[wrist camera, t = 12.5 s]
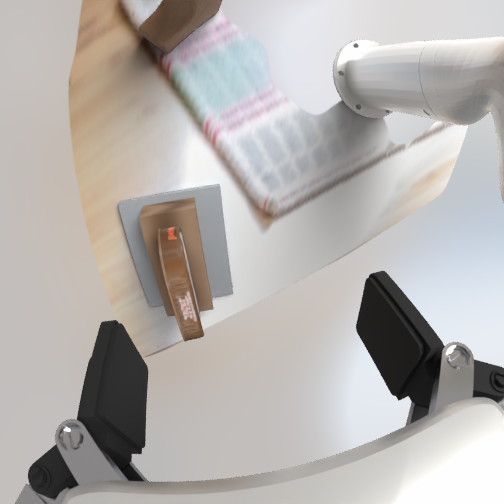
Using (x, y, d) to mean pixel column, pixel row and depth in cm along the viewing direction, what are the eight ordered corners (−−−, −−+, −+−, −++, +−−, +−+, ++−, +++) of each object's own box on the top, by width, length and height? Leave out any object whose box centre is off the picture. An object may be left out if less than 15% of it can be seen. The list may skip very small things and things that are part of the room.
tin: (158, 217, 32) (150, 252, 25) (183, 213, 32) (183, 247, 25) (181, 311, 40) (183, 355, 32) (202, 308, 40) (208, 351, 33)
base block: (194, 197, 36) (195, 207, 32) (210, 292, 44) (213, 309, 41) (143, 206, 35) (138, 217, 31) (168, 299, 43) (167, 316, 40)
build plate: (219, 184, 36) (220, 186, 36) (232, 290, 46) (233, 293, 45) (119, 201, 34) (117, 204, 34) (150, 303, 44) (149, 307, 43)
